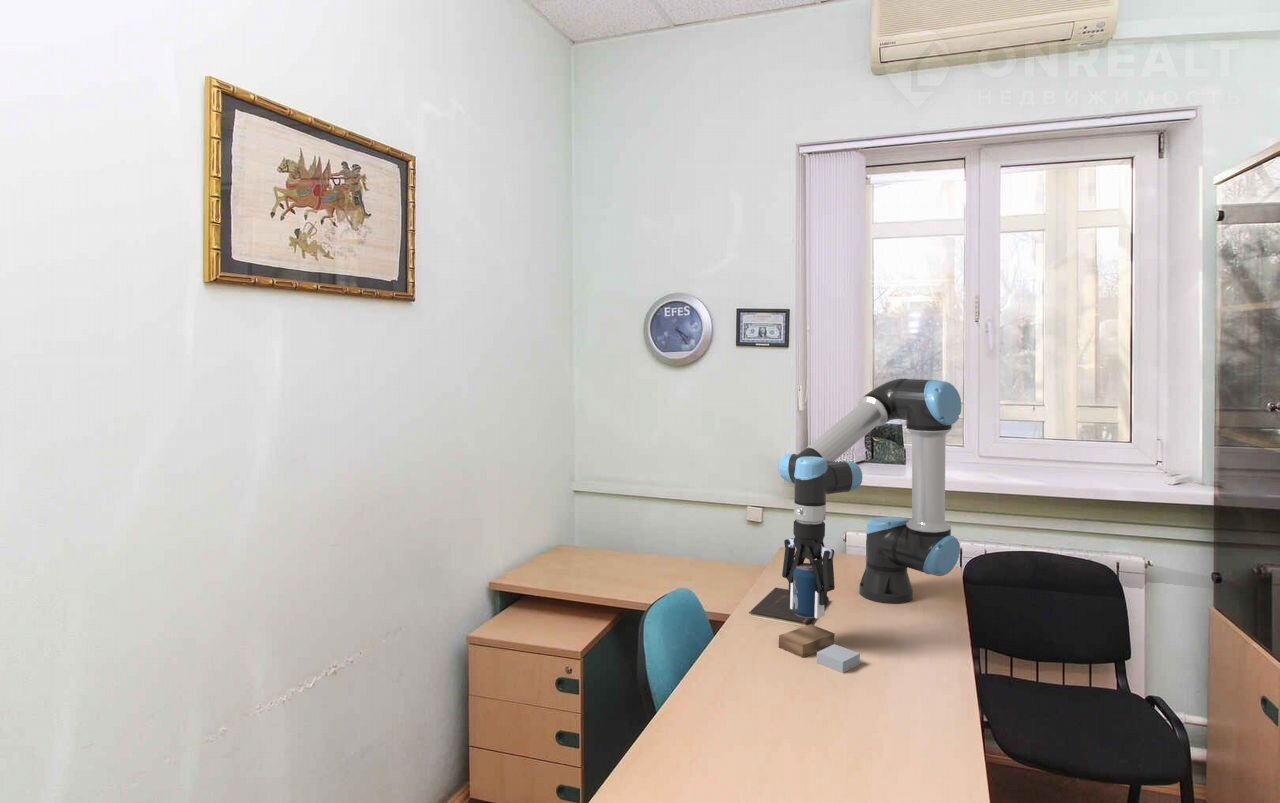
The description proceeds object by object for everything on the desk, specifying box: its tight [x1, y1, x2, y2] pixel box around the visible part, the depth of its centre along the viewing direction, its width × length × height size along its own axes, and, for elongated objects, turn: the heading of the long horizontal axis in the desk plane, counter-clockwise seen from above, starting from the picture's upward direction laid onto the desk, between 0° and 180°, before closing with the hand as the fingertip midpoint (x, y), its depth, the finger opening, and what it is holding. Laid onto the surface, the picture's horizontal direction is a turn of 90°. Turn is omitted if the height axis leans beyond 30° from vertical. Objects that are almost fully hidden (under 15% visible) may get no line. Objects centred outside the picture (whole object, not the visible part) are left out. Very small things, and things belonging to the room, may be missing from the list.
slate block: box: [816, 643, 861, 674], centre depth 174 cm, size 7×7×3 cm
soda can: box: [792, 562, 818, 618], centre depth 183 cm, size 7×7×12 cm
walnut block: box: [778, 623, 835, 658], centre depth 184 cm, size 12×8×3 cm, turn 128°
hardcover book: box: [748, 587, 830, 628], centre depth 209 cm, size 16×23×2 cm
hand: (806, 612), depth 183 cm, fingers closed on soda can, 7 cm apart
